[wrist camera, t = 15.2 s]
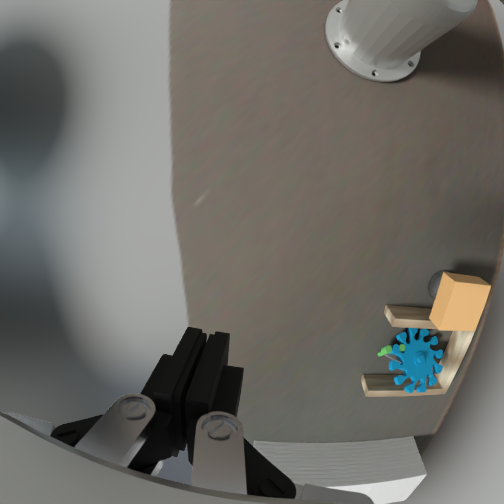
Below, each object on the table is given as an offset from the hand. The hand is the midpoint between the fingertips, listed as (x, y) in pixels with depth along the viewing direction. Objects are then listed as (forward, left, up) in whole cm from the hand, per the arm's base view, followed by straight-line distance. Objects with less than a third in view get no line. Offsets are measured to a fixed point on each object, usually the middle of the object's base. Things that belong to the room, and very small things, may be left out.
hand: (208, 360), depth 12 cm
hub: (+5, +27, -23) cm, 36 cm away
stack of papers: (+44, +20, -28) cm, 56 cm away
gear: (+15, +25, -27) cm, 40 cm away
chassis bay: (+15, +26, -27) cm, 41 cm away
